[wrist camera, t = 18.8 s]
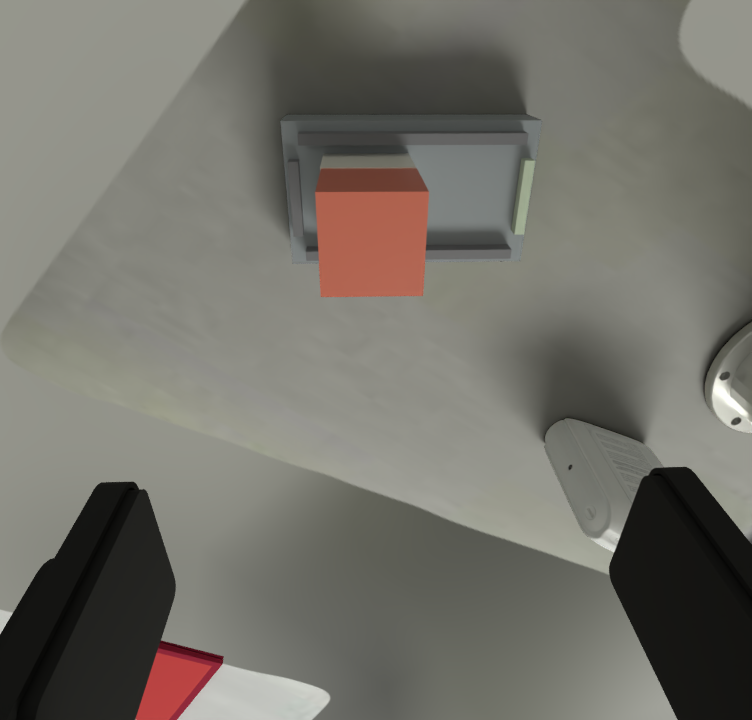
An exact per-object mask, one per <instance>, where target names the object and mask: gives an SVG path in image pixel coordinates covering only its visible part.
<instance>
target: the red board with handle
mask: <svg viewBox="0 0 752 720" xmlns="http://www.w3.org/2000/svg"><path fill="white" fill-rule="evenodd" d="M223 658H224V656H220V655H217V654H213V653H209V652H205V651H201V650H197V649H193V648H189V647H185V646H181V645H177V644H173V643H169V642H165V641H162V640H161V641H160V644H159V647H158V650H157V653H156V657H155V660H154V663H153V666H152V669H151V672H150V675H149V678H148V682H147V685H146V688H145V691H144V694H143V697H142V700H141V703H140V707H139V710H138V713H137V716H136V719H135V720H177V719H178V718H179V716H180V715H181V714H182V713H183V712H184V710H185V709H186V708H187V707H188V705H189V704H190V703H191V702H192V701H193V699H194V698H195V697H196V696H197V694H198V693H199V692H200V691H201V690H202V688H203V687H204V686H205V685H206V684H207V682H208V681H209V680H210V679H211V677H212V676H213V675H214V674H215V673H216V671H217V670H218V669H219V668H220V666H221V665H222V664H223Z"/></svg>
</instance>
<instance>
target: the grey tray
mask: <svg viewBox="0 0 752 720" xmlns="http://www.w3.org/2000/svg"><path fill="white" fill-rule="evenodd" d="M280 122H281V134H282V145H283V157H284V169H285V180H286V192H287V203H288V215H289V227H290V238H291V250H292V262H293V264H306V263H319V253H318V234H317V216H316V198H315V191H316V187H317V183H318V179H319V174H320V165H321V161H322V157H323V154H343V153H409V155H410V157H411V159H412V161H413V162H414V164H415V166H416V168H417V170H418V171H419V173H420V175H421V177H422V179H423V181H424V183H425V185H426V187H427V189H428V190H429V202H428V219H427V236H426V254H425V262H475V261H520V259H521V252H522V246H523V240H524V233H525V227H526V221H527V214H528V208H529V202H530V195H531V189H532V182H533V176H534V170H535V163H536V157H537V151H538V144H539V138H540V131H541V125H542V120H540V119H537V118H535V117H532V116H530V115H527V114H421V115H285V116H284V118H283V119H282V120H281V121H280Z"/></svg>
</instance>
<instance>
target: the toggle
mask: <svg viewBox="0 0 752 720" xmlns="http://www.w3.org/2000/svg"><path fill="white" fill-rule="evenodd" d="M321 168H416V166H415V164H414V162H413V161H412V159H411V157H410V155H409V153H343V154H323V157H322V161H321V165H320V170H321Z"/></svg>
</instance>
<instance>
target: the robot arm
mask: <svg viewBox="0 0 752 720" xmlns="http://www.w3.org/2000/svg"><path fill="white" fill-rule="evenodd" d="M705 398H706V402H707V405H708V407H709V409H710V410H711V412H712V413H713V414H714V415H715V416H716V417H717V418H718V419H719V420H720V421H721V422H722V423H723V424H724V425H726V426H727V427H729V428H731V429H734V430H737V431H740V432H745V433H752V322H751V323H749V324H748V325H746V326H745V327H744V328H742V329H741V330H740V331H739V332H738V333H736V334H735V335H734V336H733V337H732V338H731V339H730V340H729V341H728V342H727V343H726V344H725V345H724V347H723V348H722V349H721V350H720V352H719V353H718V355H717V356H716V358H715V359H714V361H713V363H712V365H711V367H710V369H709V371H708V374H707V378H706V382H705ZM609 573H610V579H611V582H612V585H613V587H614V589H615V591H616V593H617V595H618V597H619V599H620V601H621V603H622V605H623V608H624V610H625V611H626V614H627V616H628V618H629V620H630V622H631V624H632V626H633V628H634V630H635V632H636V634H637V637H638V638H639V641H640V643H641V645H642V647H643V649H644V651H645V653H646V655H647V657H648V659H649V661H650V663H651V665H652V667H653V670H654V672H655V674H656V676H657V678H658V680H659V682H660V684H661V686H662V688H663V690H664V693H665V695H666V697H667V699H668V701H669V703H670V705H671V707H672V709H673V711H674V713H675V715H676V717H677V719H678V720H752V544H751V543H750V542H749V541H748V539H747V538H746V537H745V536H744V534H743V533H742V532H741V531H740V529H739V528H738V527H737V526H736V524H735V523H734V522H733V521H732V519H731V518H730V517H729V516H728V514H727V513H726V512H725V511H724V509H723V508H722V507H721V506H720V504H719V503H718V502H717V501H716V499H715V498H714V497H713V496H712V494H711V493H710V492H709V491H708V489H707V488H706V487H705V486H704V484H703V483H702V482H701V481H700V479H699V478H698V477H697V476H696V474H695V473H694V472H693V471H692V470H691V469H689V468H687V467H666V468H654V469H652V470H651V471H650V473H649V475H648V476H644V477H643V478H642V480H641V482H640V485H639V487H638V490H637V493H636V495H635V498H634V501H633V503H632V506H631V509H630V511H629V514H628V517H627V520H626V522H625V525H624V528H623V530H622V533H621V536H620V538H619V541H618V544H617V546H616V549H615V552H614V554H613V557H612V560H611V562H610V566H609ZM175 587H176V584H175V578H174V574H173V572H172V568H171V565H170V562H169V559H168V556H167V553H166V550H165V546H164V543H163V540H162V537H161V534H160V531H159V528H158V524H157V522H156V518H155V515H154V512H153V509H152V506H151V503H150V499H149V497H148V493H147V492H146V490H144V489H143V490H139V488H138V486H137V484H136V483H134V482H106V483H100V484H98V485H97V486H96V488H95V489H94V490H93V492H92V494H91V496H90V497H89V499H88V501H87V503H86V505H85V506H84V508H83V510H82V511H81V513H80V515H79V517H78V518H77V520H76V522H75V523H74V525H73V527H72V529H71V530H70V532H69V534H68V536H67V537H66V539H65V541H64V543H63V544H62V546H61V548H60V549H59V551H58V553H57V555H56V556H55V558H53V559H50V560H49V561H47V562H46V563H45V564H43V566H42V567H41V568H40V570H39V571H38V572H37V574H36V575H35V577H34V579H33V581H32V582H31V584H30V586H29V587H28V589H27V591H26V592H25V594H24V596H23V597H22V599H21V601H20V602H19V604H18V606H17V607H16V609H15V611H14V612H13V614H12V616H11V617H10V619H9V621H8V622H7V624H6V626H5V627H4V629H3V631H2V632H1V634H0V720H135V719H136V716H137V713H138V710H139V707H140V703H141V700H142V697H143V694H144V691H145V688H146V685H147V682H148V678H149V675H150V672H151V669H152V666H153V663H154V660H155V657H156V653H157V650H158V647H159V644H160V641H161V638H162V635H163V632H164V628H165V625H166V622H167V619H168V616H169V613H170V610H171V607H172V603H173V600H174V596H175Z"/></svg>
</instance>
